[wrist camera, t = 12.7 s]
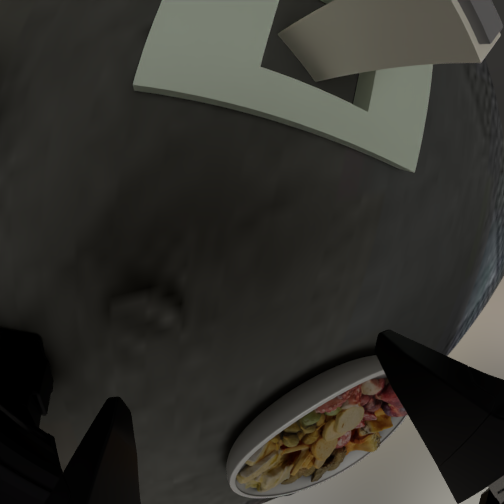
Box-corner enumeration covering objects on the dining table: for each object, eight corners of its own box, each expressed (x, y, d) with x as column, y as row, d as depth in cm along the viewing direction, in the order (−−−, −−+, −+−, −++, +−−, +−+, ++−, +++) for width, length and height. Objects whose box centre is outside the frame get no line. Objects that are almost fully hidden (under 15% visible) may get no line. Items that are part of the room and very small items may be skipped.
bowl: (309, 473, 44) (327, 501, 37) (175, 468, 30) (189, 516, 23) (422, 367, 41) (451, 393, 35) (338, 305, 27) (390, 353, 20)
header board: (134, 90, 14) (131, 80, 12) (198, -65, 10) (208, -88, 7) (398, 168, 23) (424, 175, 20) (419, 42, 19) (444, 39, 16)
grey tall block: (315, 82, 18) (492, 63, 6) (277, 34, 16) (438, -41, 4) (355, 52, 18) (511, 32, 6) (322, 8, 15) (470, -46, 4)
